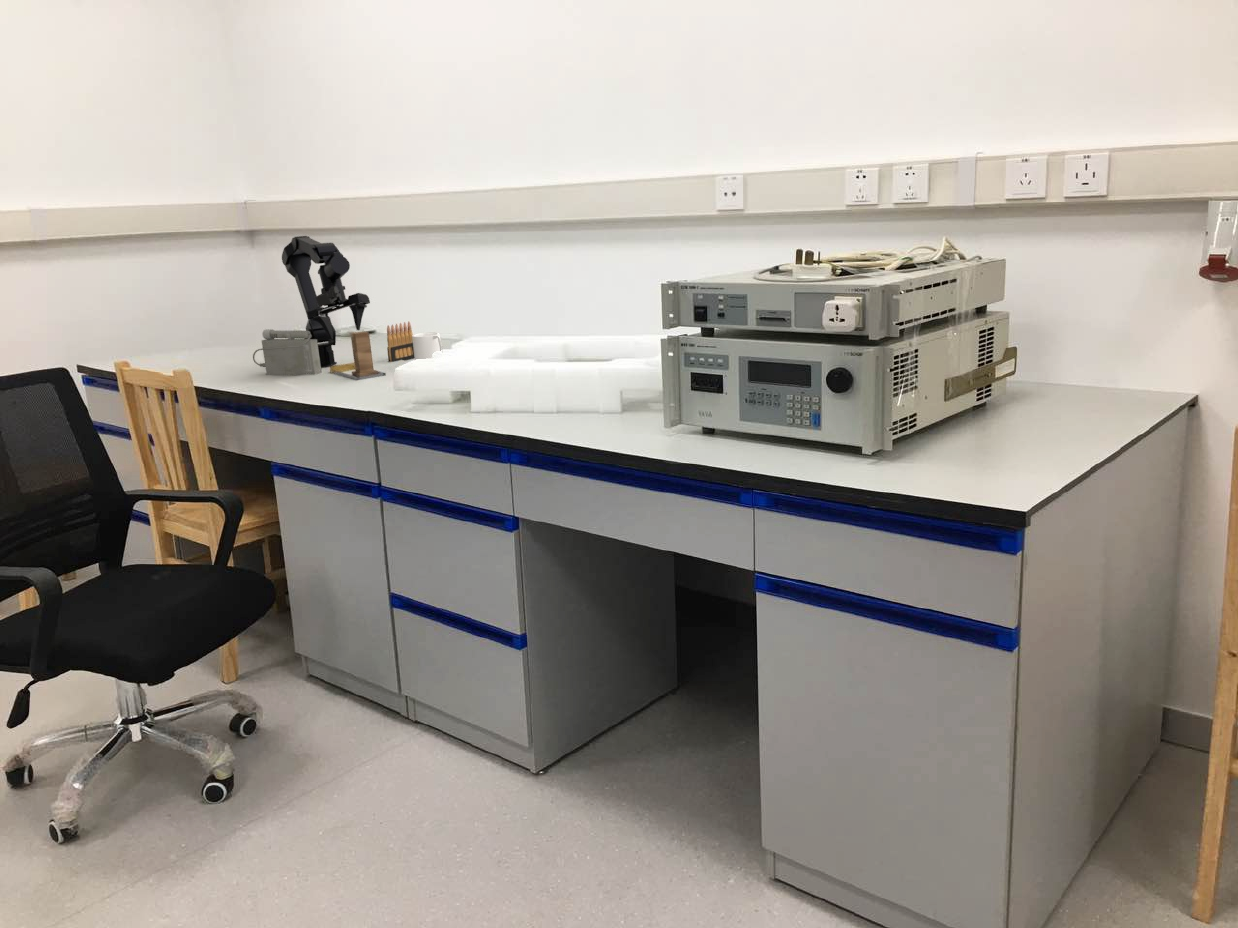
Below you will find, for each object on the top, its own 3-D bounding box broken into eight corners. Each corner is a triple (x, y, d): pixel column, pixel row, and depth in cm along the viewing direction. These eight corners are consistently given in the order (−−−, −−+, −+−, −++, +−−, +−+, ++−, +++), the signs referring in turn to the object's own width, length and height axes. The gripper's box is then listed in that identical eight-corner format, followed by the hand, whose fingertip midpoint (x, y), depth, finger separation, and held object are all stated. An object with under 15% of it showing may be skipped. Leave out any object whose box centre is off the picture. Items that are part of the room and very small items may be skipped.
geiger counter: (318, 328, 304) (256, 328, 315) (304, 331, 299) (241, 331, 309) (325, 373, 308) (263, 372, 318) (310, 377, 302) (248, 375, 313)
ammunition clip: (392, 363, 319) (387, 325, 316) (388, 363, 320) (383, 325, 317) (417, 357, 327) (412, 321, 324) (413, 357, 328) (408, 320, 325)
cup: (432, 371, 299) (428, 338, 296) (410, 368, 308) (406, 335, 305) (455, 367, 304) (451, 334, 302) (433, 364, 313) (429, 331, 310)
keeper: (352, 376, 297) (346, 333, 293) (370, 373, 300) (364, 330, 296) (360, 378, 292) (354, 334, 289) (378, 375, 295) (372, 332, 292)
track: (330, 373, 306) (329, 366, 306) (358, 369, 312) (357, 361, 311) (357, 381, 290) (355, 373, 289) (386, 377, 295) (385, 368, 294)
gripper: (290, 290, 297) (303, 341, 297) (345, 271, 292) (358, 323, 292) (311, 294, 308) (323, 343, 307) (364, 276, 303) (377, 326, 303)
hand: (345, 334), depth 302 cm, fingers open, 9 cm apart
